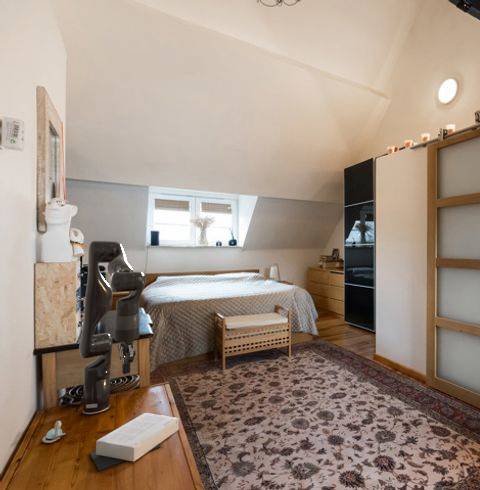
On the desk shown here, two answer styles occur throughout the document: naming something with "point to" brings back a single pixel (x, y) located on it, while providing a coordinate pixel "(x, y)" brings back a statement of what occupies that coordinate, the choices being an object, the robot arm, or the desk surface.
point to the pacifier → (54, 433)
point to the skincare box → (137, 436)
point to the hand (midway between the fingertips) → (126, 373)
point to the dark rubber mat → (109, 460)
